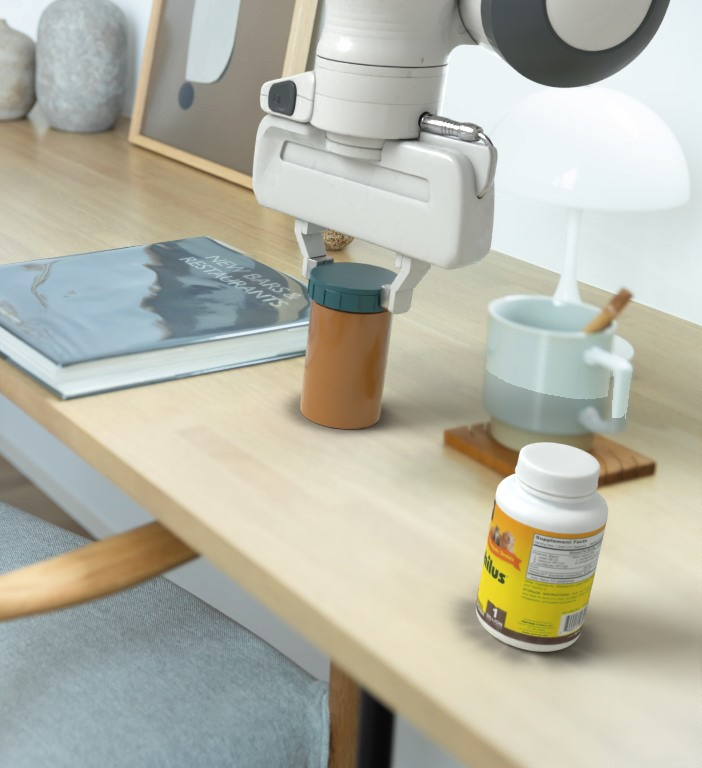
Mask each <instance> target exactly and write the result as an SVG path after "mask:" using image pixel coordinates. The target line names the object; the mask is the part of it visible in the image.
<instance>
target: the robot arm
mask: <svg viewBox="0 0 702 768" xmlns="http://www.w3.org/2000/svg"><path fill="white" fill-rule="evenodd" d="M670 3H671V0H324V4H325V20H324V25H323V29H322V33H321V35H320V37H319V40H318V42H317V46H316V51H315V53H316V54H315V60H314V69H313V70H309V71H303V72H300V73H297V74H293V75H289V76H285V77H281V78H277V79H271V80H268V81H266V82H264V83H263V84H262V86H261V88H260V95H259V104H260V108H261V110H262V111H263V112H264V113H267V114H266V115H265V116H263V118H262V119H261V120H260V122H259V125H258V127H257V132H256V138H255V144H254V152H253V153H254V154H253V160H252V161H253V162H252V163H253V164H252V177H251V183H252V184H251V185H252V186H251V187H252V191H253V193H254V196H255V199H256V201H257V204H258V205H260V206H261V207H263V208H266V209H268V210H269V209H270V210H273V211H275V212H278V213H281V214H284V215H287V216H290V217H292V218H295V220H294V229H293V231H294V234H295V237H296V241H297V244H298V247H299V250H300V254H301V256H302V257H303V258H302V269H301V276H302V278H303V279H305V280H308V281H309V279H310V272H311V270H312V269H313V268H314V267H316V266H318V265H321V264H326V263H334V262H335V258H334V257H332V256H329V255H328V254H327V249H326V244H325V240H324V235H323V233H324V232H327V231H328V230H330V231H333V232H336V233H339V234H343V235H345V236H348V237H350V238H353V239H356V240H359V241H361V242H365V243H368V244H371V245H374V246H376V247H380V248H383V249H386V250H389V251H391V252H394V253H395V261H394V266H395V268H398V269H400V270H399V272H398V273H397V274H398V275H397V277H396V278H395V280H394V281H393V283H391V284H386V285H382V286H381V287H380V294H379V295H380V300H379V302H378V305H379V307H380V308H381V309H383V310H386V311H388V312H391V313H393V314H394V315H396V316H397V315H401V314H404V313H405V314H406V313H407V312H409V310H410V309H411V306H412V300H413V292H414V289H415V288H417V286H418V284H419V283H420V282H421V281H422V279H424V277H425V276H426V274H427V273H428V272H429V270H430V269H431V268H432V267H431V266H435V267H438V268H441V269H444V270H447V271H449V270H458V269H462V268H464V269H465V268H467V267H472V266H475V265H478V264H480V262H482V261H483V260H484V259H485V258H486V257H487V256H488V254H489V253H490V252H491V248H492V243H493V236H494V224H495V223H494V222H495V204H496V180H495V178H496V173H497V172H496V171H497V166H498V159H499V158H498V157H499V155H498V149H497V146H495V145H494V142H493V141H492V139H491V138H490V136H488V135H487V134H486V133H485V132H484V127H482V126H481V125H478V124H476V123H473V122H468V121H463V122H461V121H457V120H455V119H452V118H450V117H446V116H443V109H444V102H445V101H444V100H445V94H446V86H447V80H448V72H449V68H450V67H449V66H450V59H451V54H452V52H453V50H454V49H456V48H457V47H459V46H463V45H464V46H477V47H479V49H483V50H484V51H485V52H486V53H489V54H490V55H493V56H494V57H496V58H498V59H501V60H502V61H504V62H505V63H506V64H508V66H510V67H511V68H512V69H513V70H514V71H516V72H517V73H518V74H519V75H521V76H522V77H524V78H526V79H527V80H529V81H531V82H534V83H535V84H538V85H542V86H544V87H550V88H557V89H572V88H580V87H581V88H582V87H585V86H590V85H593V84H597V83H599V82H601V81H603V80H606V79H608V78H610V77H613V76H614V75H615V74H617V73H619V72H621V71H622V70H623V69H625V68H626V67H627V66H629V65H630V64H631V63H633V62H634V61H635V59H637V58H638V57H639V56H640V55H641V54H642V53H643V52H644V50H645V49H646V48H647V47H648V46H649V44H650V43H651V42H652V40H653V39H654V37H655V36H656V34H657V33H658V31H659V29H660V27H661V25H662V23H663V21H664V18H665V16H666V14H667V11H668V8H669V6H670ZM480 141H482V142H480Z"/></svg>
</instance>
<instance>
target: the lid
mask: <svg viewBox="0 0 702 768" xmlns="http://www.w3.org/2000/svg"><path fill="white" fill-rule="evenodd" d="M397 275H398V273H396V272H395V271H393V270H390V269H389V268H385V267H382V266H378V265H374V264H369V263H361V262H352V261H351V262H349V261H337V262H335V261H334V263H326V264H321V265H318V266H316V267H314V268H313V269H312V270H311V272H310V279H309V280H308V283H307V293H306V294H307V295H308V297H309V298H310V299H312V300H313V301H315V302H317V303H319V304H321V305H324V306H326V307H329V308H333V309H338V310H343V311H350V312H365V313H367V312H381V311H386V310H383V309H381V308H380V307H379V305H378V302H379V300H380V295H379V294H380V287H381V286H382V285H386V284H391V283H393V281H394V280H395V278H396V277H397Z"/></svg>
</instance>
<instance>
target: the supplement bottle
mask: <svg viewBox="0 0 702 768" xmlns="http://www.w3.org/2000/svg"><path fill="white" fill-rule="evenodd" d="M514 472H515V473H513V474H511V475H508V476H507V477H505V478H504V479H503V480H501V481H500V483H499V484H498V486H497V488H496V491H495V492H496V493H495V496H494V499H493V500H494V501H493V506H492V510H491V518H490V523H489V528H488V534H487V539H486V545H485V551H484V556H483V562H482V567H481V572H480V573H481V574H480V579H479V584H478V589H477V596H476V602H475V613H476V616H477V619H478V621H479V623H480V624H481V626H482V627H483V628H484V629H485V630H486V631H487V632H488V633H489V634H490V635H492V636H493V637H494V638H496V639H497V640H499V641H501V642H502V643H505V644H507V645H509V646H512V647H514V648H517V649H521V650H525V651H531V652H541V653H543V652H544V653H545V652H555V651H560V650H563V649H566V648H568V647H570V646H572V645H573V644H575V642H576V641H577V640H578V639H579V637H580V636H581V634H582V631H583V627H584V623H585V619H586V615H587V610H588V605H589V602H590V597H591V592H592V590H593V589H592V588H593V585H594V580H595V575H596V571H597V567H598V563H599V558H600V554H601V549H602V545H603V541H604V540H603V539H604V537H605V531H606V526H607V522H608V518H609V517H608V516H609V506H608V503H607V500H605V498H604V496H603V495H602V494H601V493H600V492H599V491H597V489H598V487H599V479H600V478H599V477H600V475H601V474H600V473H601V464H600V462H599V461H598V459H597V458H596V457H595V456H594V455H592V454H591V453H589V452H587V451H585V450H583V449H580V448H578V447H575V446H572V445H568V444H563V443H558V442H548V441H547V442H545V441H544V442H535V443H530V444H527V445H525V446H523V447H522V448H521V449H520V451H519V454H518V459H517V463H516V466H515V469H514Z"/></svg>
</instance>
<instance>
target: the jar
mask: <svg viewBox="0 0 702 768" xmlns="http://www.w3.org/2000/svg"><path fill="white" fill-rule="evenodd" d="M310 299H311V298H310ZM394 315H395V314H393V313H391V312H388V311H381V312H367V313H365V312H350V311H343V310H338V309H333V308H329V307H326V306H324V305H321V304H319V303H317V302H315V301H313V300H312V299H311V300H310V308H309V319H308V329H307V338H306V347H305V348H306V349H305V357H304V366H303V376H302V386H301V395H300V404H299V410H300V413H301V415H303V416H304V417H305V418H306V419H307V420H309V421H311V422H313V423H315V424H317V425H321V426H324V427H329V428H333V429H339V430H341V429H342V430H359V429H365V428H368V427H372V426H374V425H375V424H377V423H378V422H379V421H380V418H381V411H382V405H383V396H384V389H385V382H386V376H387V375H386V374H387V366H388V359H389V351H390V345H391V337H392V331H393V330H392V329H393V322H394Z"/></svg>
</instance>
